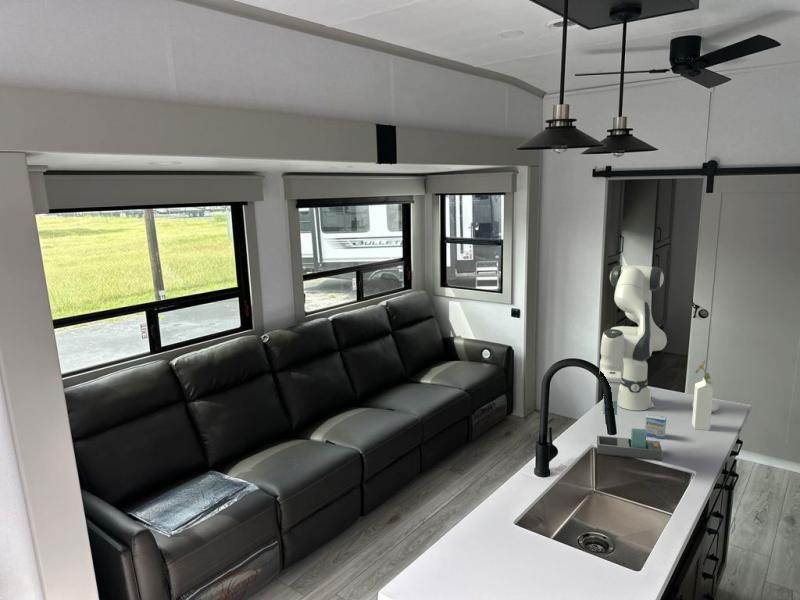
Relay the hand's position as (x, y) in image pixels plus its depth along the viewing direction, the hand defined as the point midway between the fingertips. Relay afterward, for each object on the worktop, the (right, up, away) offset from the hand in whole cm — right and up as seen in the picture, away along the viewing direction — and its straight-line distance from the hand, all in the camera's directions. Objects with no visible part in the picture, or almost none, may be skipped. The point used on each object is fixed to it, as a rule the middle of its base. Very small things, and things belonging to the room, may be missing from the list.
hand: (610, 403), depth 224 cm
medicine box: (+25, -17, +15) cm, 34 cm away
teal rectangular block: (0, -4, +1) cm, 4 cm away
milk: (+48, -15, +21) cm, 54 cm away
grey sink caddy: (+8, -20, +2) cm, 22 cm away
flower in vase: (+59, -10, +39) cm, 71 cm away
